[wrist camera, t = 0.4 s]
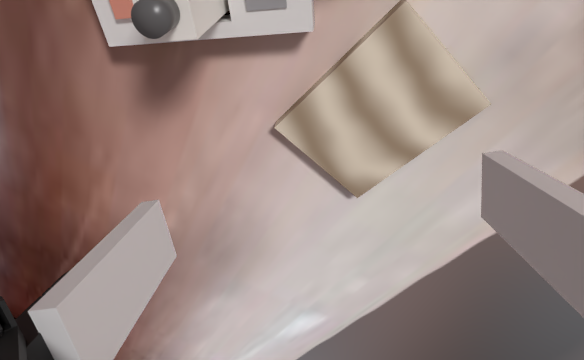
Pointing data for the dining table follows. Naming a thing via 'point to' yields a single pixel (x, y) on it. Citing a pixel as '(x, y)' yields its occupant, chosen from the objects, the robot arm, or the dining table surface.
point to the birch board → (382, 103)
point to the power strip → (241, 22)
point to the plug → (175, 18)
